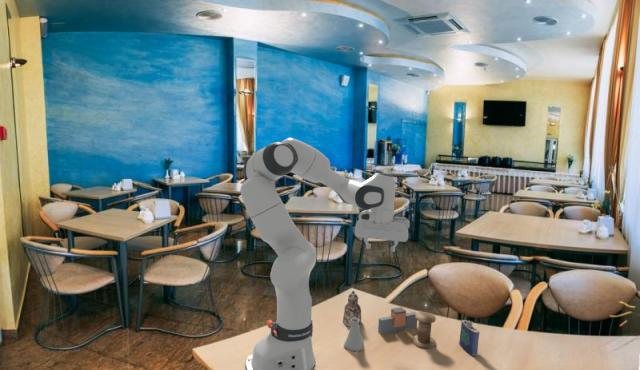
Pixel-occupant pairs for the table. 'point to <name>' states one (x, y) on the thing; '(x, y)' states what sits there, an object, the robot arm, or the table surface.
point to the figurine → (352, 309)
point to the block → (398, 316)
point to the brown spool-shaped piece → (424, 330)
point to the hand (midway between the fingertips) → (380, 250)
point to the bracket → (387, 327)
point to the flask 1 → (354, 337)
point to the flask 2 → (469, 338)
